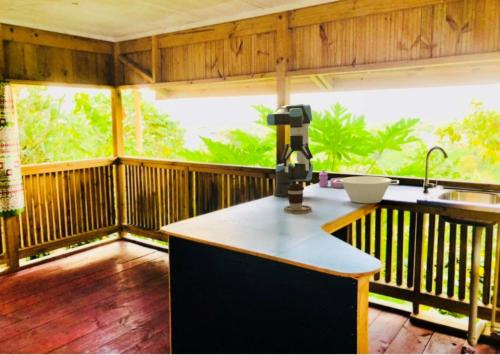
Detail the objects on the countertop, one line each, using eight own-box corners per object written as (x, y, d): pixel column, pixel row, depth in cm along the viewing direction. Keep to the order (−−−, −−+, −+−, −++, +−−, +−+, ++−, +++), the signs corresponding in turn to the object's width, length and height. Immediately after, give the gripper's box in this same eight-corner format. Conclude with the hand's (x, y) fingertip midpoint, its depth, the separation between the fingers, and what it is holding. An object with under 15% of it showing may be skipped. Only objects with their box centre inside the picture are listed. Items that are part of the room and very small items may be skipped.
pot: (329, 204, 252) (329, 182, 251) (338, 195, 282) (338, 175, 280) (397, 207, 237) (397, 183, 236) (399, 197, 267) (399, 176, 265)
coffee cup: (303, 211, 233) (303, 185, 231) (286, 211, 235) (285, 185, 233) (304, 207, 242) (304, 183, 240) (288, 207, 244) (288, 183, 242)
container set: (351, 185, 324) (351, 169, 323) (348, 188, 310) (348, 171, 309) (321, 185, 334) (321, 169, 332) (316, 187, 320) (316, 171, 319)
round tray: (279, 209, 244) (279, 206, 243) (303, 206, 249) (303, 203, 249) (291, 214, 228) (291, 211, 228) (316, 211, 234) (316, 208, 234)
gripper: (279, 136, 225) (280, 173, 228) (318, 134, 234) (318, 170, 237) (274, 136, 232) (275, 172, 235) (311, 134, 241) (312, 169, 244)
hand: (297, 171), depth 236 cm, fingers open, 13 cm apart
